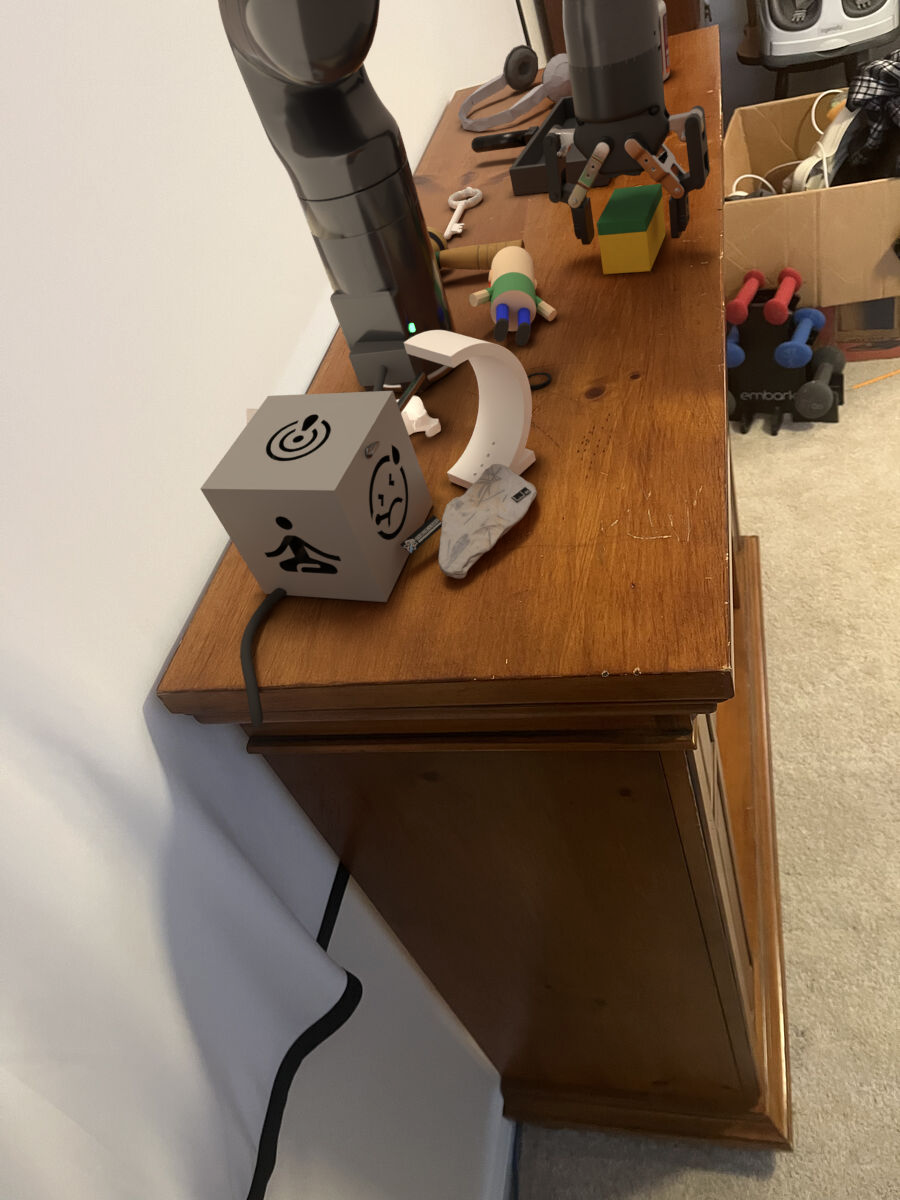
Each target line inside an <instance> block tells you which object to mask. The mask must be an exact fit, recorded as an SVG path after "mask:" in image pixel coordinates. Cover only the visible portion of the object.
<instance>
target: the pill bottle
mask: <svg viewBox="0 0 900 1200" xmlns="http://www.w3.org/2000/svg"><path fill="white" fill-rule="evenodd" d="M658 8H659V16H660V19H661V32H660V38H661V53H662V69H663V82H665V81H666V80H667V79H668V78H669V76H670V74H671V65H670V63H671V62H670V49H669V34H668V33H669V31H668V18H667V17H668V16H667V15H668V14H667V5H666V3H665V1H664V0H658Z"/></svg>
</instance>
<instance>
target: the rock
mask: <svg viewBox="0 0 900 1200" xmlns="http://www.w3.org/2000/svg"><path fill="white" fill-rule="evenodd" d="M537 494H538V491H537V489H536V486H535V485H534V484H533V483H531V482H529V481H527V480H526V479H525V478H524V477H522V476H521V475H517V474H516V473H515V472H514V471H513V470H511V469H510V468H508V467H506V466H504V465H502V464H493V465H491V466H490V467H489V468H487V469H485V471H484V472H483V474H482V476H481V477H480V478H479V479H478V480H477V481H476V482H475V483H474V484H473V485H472V486H471V487H470V488H469V489H467V490H466V491H465V492H464V494H462V495H460V496H456V497H454V498H452V499H451V500H450V501H449V502H448V503H447V504H446V505H445V508H444V512H443V514H442V516H441V519H439V518H438V517H437V516H436V515H434V514H433V515H432V516H431V517H429V518H428V519H426V520H425V521H424V524H423V525H422V526H421V527H419V528H418V529H417V530H416V531H415V532H414V533H413V534H411V535H410V536H409V537H408V538H407V539H406V540H405V541H403V542H402V543H401V544H400V545H401V546H402V547H403V548H404V549H405V550H406V551H408V552H409V555H412V554H413V553H415V551H417V550H418V549H419V548H420V547H421V546H422V545H423V544H424V543H425V542H427V541H428V540H429V539H430V538H431V537H433V535H435V534H436V533H437V532H438V531H439V530H440V529H441V532H440V537H439V548H438V567H439V569H440V571H441V573H443V574H444V575H445V576H448V577H450V578H454V579H457V580H458V579H459V580H460V579H464V578H465V577H466V576H467V574H468V571H469V570H470V569H471V568H472V566H473V565H475V563H477V561H479V559H480V558H481V557H482V556H483V555H484V554H485V553H487V552H489V551H490V550H491V549H492V548H494V546H495V545H496V544H497V542H498V540H499V539H501V538H502V537H503V536H505V534H507V533H508V532H509V531H510V530H511V529H512V528H513V527H514V526H515V525H517V524H518V523H519V522H520V521H521V520H522V519H523V518H524V516H525V515H526V514H527V512H528V511H529V508H530V506H531V504H532V503H533V501H535V498H536V496H537Z"/></svg>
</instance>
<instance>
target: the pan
mask: <svg viewBox="0 0 900 1200" xmlns="http://www.w3.org/2000/svg"><path fill="white" fill-rule="evenodd" d="M554 125H560V126H561V127H562V128H563V129H575V128H576V117H575V111H574V104H573V96H572V95H571V96H566V97H561V98H560V99H559V100H558V102H555V104H554V106H553V107H552V108H551V110H550V111H549V113H548V114H547V116H546V117H545V119H544V120H543V121H542V122H541V124H540V125H539V128H538V130H537V131H536V133H535V134H534V135H533V137H532V138H531V140H530V141H529V142H528V144H527V145H526V146H525V147H523V149H522V150H521V152H520V153H519V155H518V156H517V158H516V159H515V160H514V162H513V163H512V164H511V166H510V167H509V169H508V172H509V177H510V181H511V182H510V183H511V187H512V192H513V196H524V195H533V194H542V193H548V184H547V175H546V166H545V157H544V147H543V140H544V138H545V137H546V135H547V134H548V132H549V131H550V130H551V128H552V127H553V126H554ZM587 163H588V160H587V159H586V158H585V157H584V156H583V155H582V154H581V152H580V151H579V150H578V149H577V148H576V146H575V145H574V143H573V144H571V149H570V151H569V152H568V154H567V155H566V164H567V175H568V183H570V184H574V185H576V184H577V182H578V180H579V178H580V176H581V175H582V173H583V171H584V169H585V167H586V165H587ZM611 179H612V178H608V179H606V176H603V175H601V174H600V173H598V174H597V176H596V178H595V180H594V182H593V183H592V185H591V187H590V188H596V187H605V186H606V187H607V186H608V184H609V183H610V181H611Z"/></svg>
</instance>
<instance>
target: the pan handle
mask: <svg viewBox="0 0 900 1200" xmlns="http://www.w3.org/2000/svg"><path fill="white" fill-rule="evenodd" d="M539 127H540V125H533V126H529V127H528V128H527V129H520V130H514V131H507V132H500V133H493V134H485V135H480V136H479V135H478V136H476V137H474V138H473V139H472V140H471V143H470V144H471V145H470V147H471V149H472V151H473V152H474V153H476V154H481V153H486V152H487V153H489V152H495V151H503V150H509V149H515V148H525V147H526V145H527V144H528V142H529V141H530V140H531V138H532V137H533V135H534V134H535V133H536V131H537V130H538V128H539Z"/></svg>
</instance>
